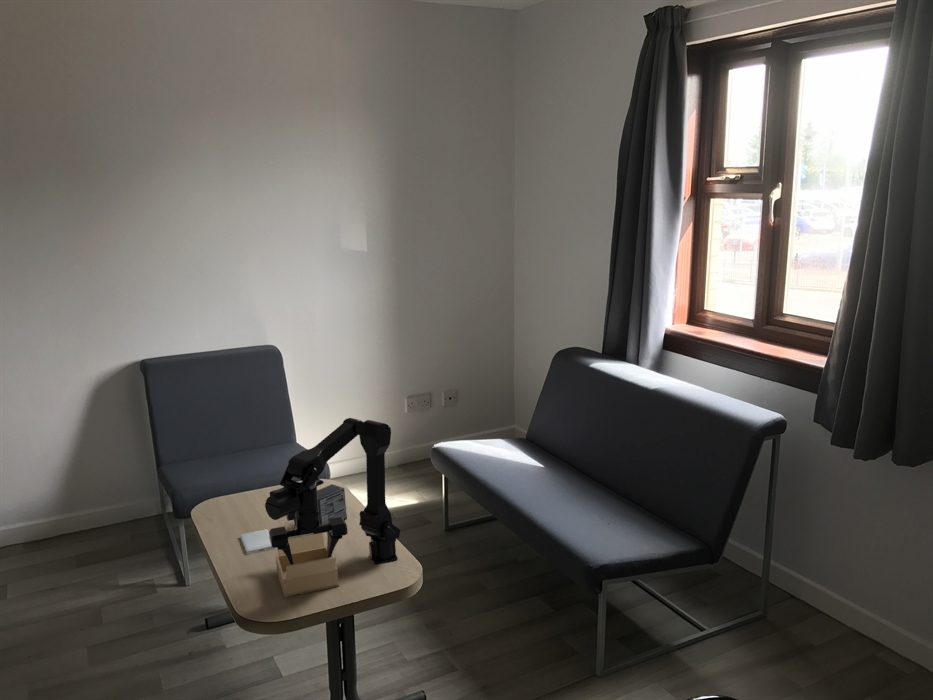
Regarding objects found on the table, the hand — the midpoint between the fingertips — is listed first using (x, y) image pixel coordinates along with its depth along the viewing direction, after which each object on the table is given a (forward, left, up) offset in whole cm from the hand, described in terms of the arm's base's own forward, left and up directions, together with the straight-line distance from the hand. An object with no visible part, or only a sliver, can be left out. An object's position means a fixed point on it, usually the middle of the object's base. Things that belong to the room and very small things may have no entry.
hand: (310, 563), depth 197 cm
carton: (0, -9, -9) cm, 13 cm away
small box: (-12, -43, -10) cm, 46 cm away
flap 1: (0, -18, -2) cm, 18 cm away
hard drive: (+10, -37, -10) cm, 40 cm away
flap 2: (0, -1, -1) cm, 2 cm away
